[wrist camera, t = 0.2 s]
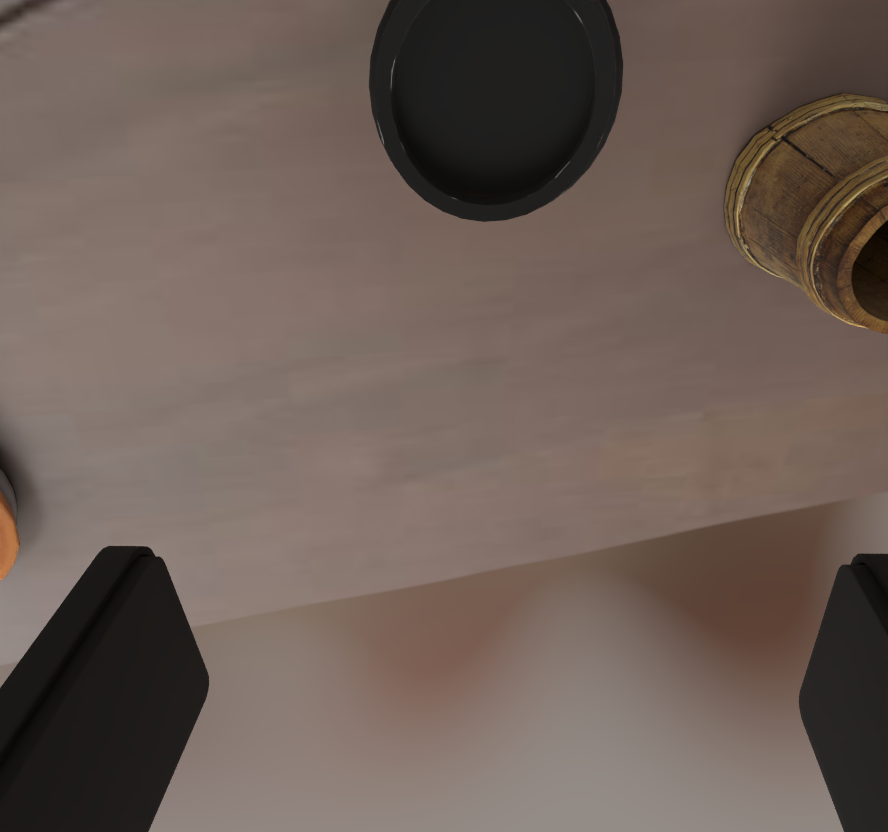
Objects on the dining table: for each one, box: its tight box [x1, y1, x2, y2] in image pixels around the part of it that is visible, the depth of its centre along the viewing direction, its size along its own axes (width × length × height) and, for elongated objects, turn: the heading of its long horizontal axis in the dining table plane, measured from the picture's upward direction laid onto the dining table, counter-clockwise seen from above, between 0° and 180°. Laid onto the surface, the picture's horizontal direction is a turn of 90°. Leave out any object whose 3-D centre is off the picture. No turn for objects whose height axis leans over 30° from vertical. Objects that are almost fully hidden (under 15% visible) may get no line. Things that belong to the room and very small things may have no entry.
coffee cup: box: [369, 0, 623, 222], centre depth 27 cm, size 8×8×15 cm
